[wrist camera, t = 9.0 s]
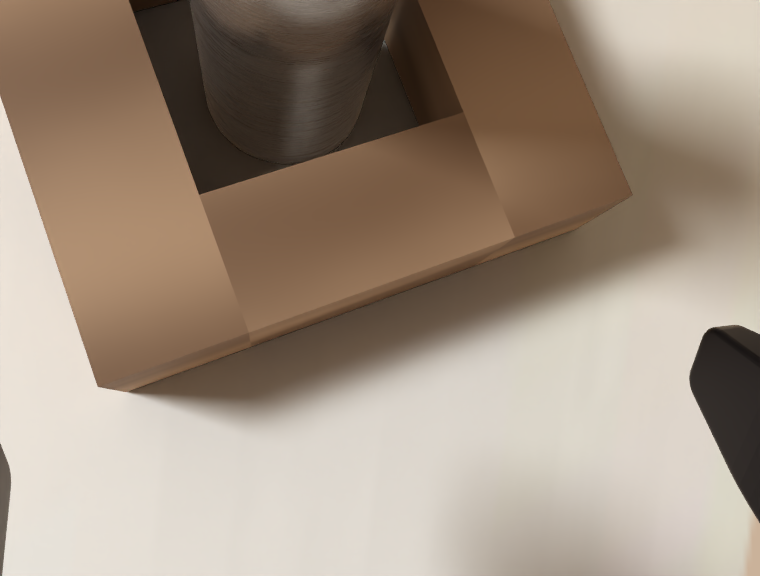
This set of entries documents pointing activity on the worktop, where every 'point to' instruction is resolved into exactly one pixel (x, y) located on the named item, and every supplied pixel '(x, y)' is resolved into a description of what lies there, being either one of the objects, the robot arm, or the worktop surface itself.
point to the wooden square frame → (291, 180)
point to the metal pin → (288, 70)
